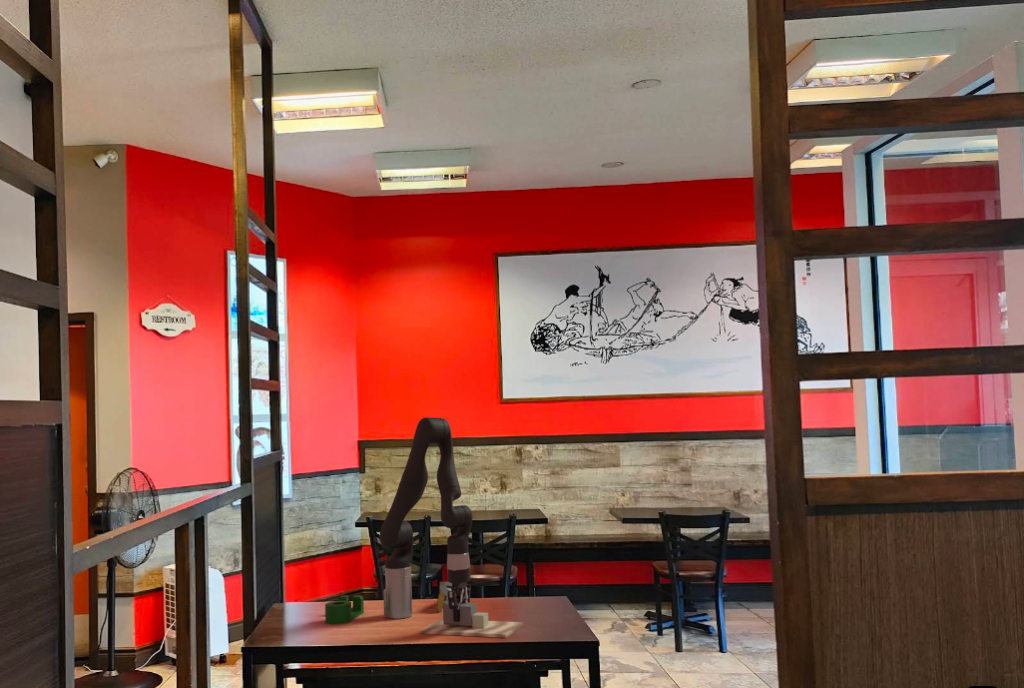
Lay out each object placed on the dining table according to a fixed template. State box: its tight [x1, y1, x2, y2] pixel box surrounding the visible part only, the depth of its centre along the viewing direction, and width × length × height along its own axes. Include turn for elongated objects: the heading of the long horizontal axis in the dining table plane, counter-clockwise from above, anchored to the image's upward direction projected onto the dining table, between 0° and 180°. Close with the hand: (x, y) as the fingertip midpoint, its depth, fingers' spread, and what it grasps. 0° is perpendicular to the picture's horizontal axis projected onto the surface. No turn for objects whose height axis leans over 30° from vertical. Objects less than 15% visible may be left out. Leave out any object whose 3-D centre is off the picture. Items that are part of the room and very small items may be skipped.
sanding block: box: [442, 602, 478, 626], centre depth 261 cm, size 10×5×6 cm, turn 70°
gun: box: [436, 581, 458, 614], centre depth 299 cm, size 3×25×15 cm, turn 166°
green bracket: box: [324, 594, 365, 626], centre depth 283 cm, size 18×9×6 cm, turn 171°
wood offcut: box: [472, 611, 489, 628], centre depth 258 cm, size 4×4×4 cm
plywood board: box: [419, 618, 524, 639], centre depth 259 cm, size 30×16×1 cm, turn 70°
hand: (460, 619), depth 261 cm, fingers closed on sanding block, 5 cm apart
